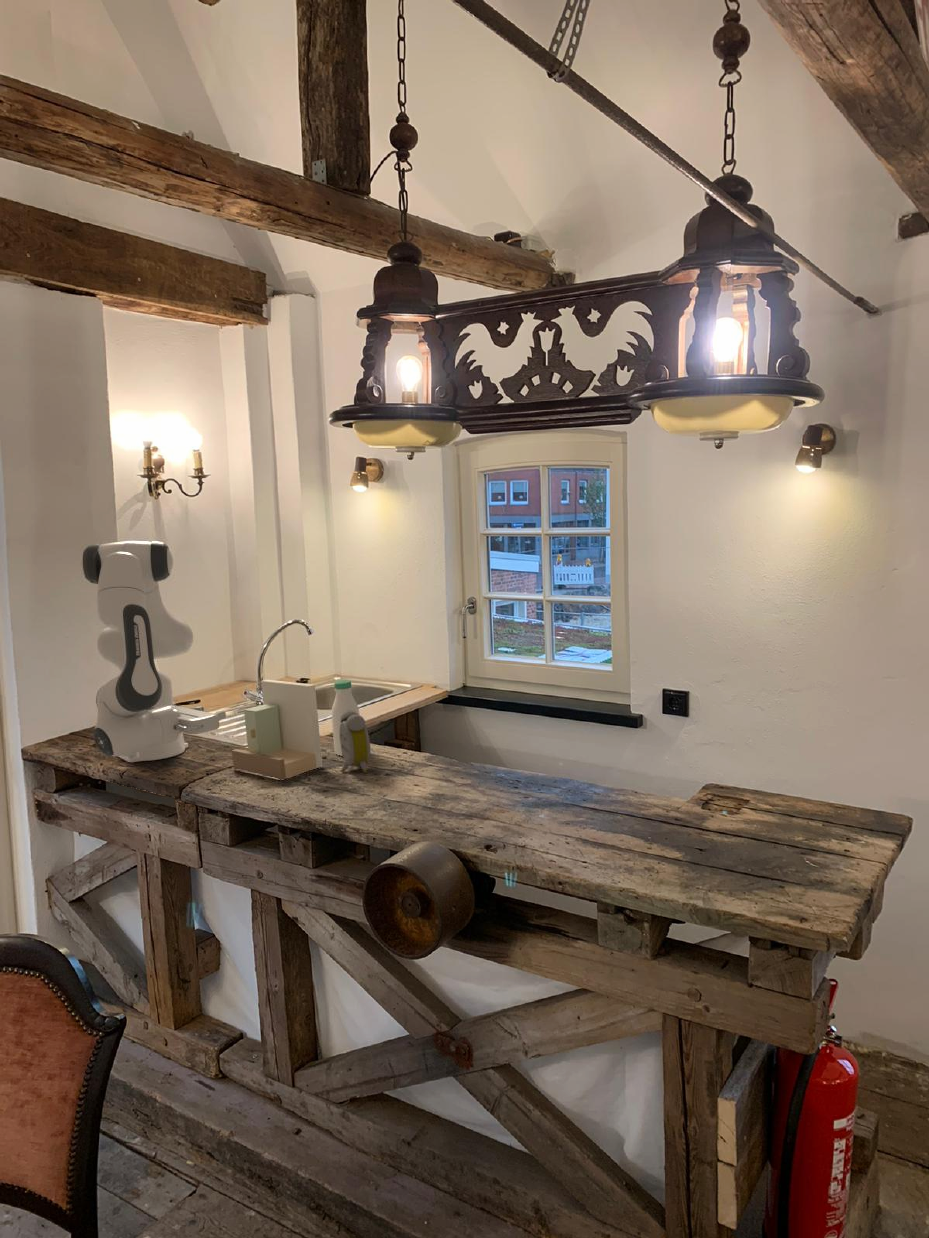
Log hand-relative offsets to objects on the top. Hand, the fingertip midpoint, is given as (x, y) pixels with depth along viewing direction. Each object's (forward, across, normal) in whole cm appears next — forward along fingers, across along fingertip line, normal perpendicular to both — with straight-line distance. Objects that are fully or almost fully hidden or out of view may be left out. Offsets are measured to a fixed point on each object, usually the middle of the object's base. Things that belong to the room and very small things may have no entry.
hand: (213, 711), depth 219 cm
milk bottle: (+34, -12, +18) cm, 40 cm away
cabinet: (+14, -1, +14) cm, 20 cm away
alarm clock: (+22, -26, +18) cm, 39 cm away
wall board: (+14, -6, +18) cm, 23 cm away
